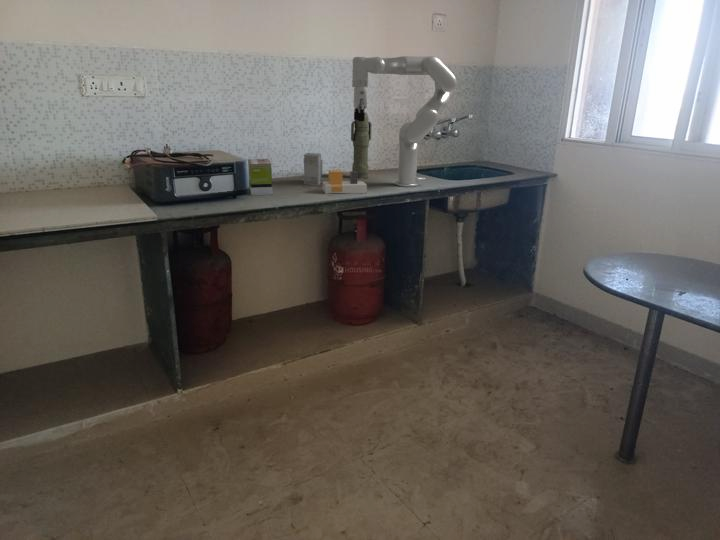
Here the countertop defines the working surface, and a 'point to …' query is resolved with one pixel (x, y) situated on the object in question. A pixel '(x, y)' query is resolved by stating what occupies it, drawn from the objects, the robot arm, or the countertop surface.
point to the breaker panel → (345, 187)
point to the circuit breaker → (312, 168)
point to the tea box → (260, 176)
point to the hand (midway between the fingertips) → (359, 120)
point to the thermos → (361, 145)
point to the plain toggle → (353, 177)
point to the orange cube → (335, 177)
